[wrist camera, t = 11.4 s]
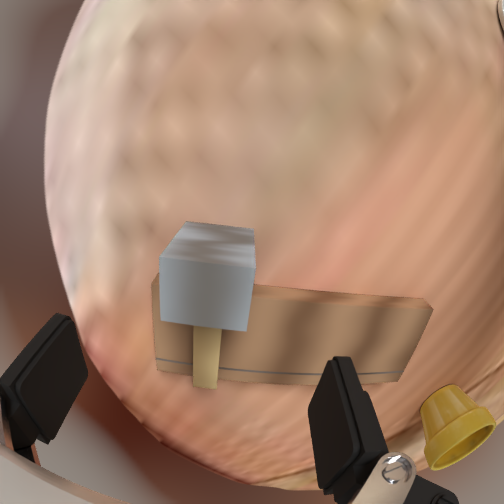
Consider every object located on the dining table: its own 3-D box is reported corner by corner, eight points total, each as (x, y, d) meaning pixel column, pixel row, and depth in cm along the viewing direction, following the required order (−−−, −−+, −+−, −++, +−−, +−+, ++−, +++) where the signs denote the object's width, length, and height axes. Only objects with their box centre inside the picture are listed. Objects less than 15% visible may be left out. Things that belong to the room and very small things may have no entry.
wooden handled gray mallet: (253, 229, 21) (255, 268, 15) (235, 362, 26) (232, 420, 19) (186, 221, 21) (159, 256, 14) (183, 355, 26) (168, 411, 19)
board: (423, 298, 24) (433, 309, 22) (391, 369, 27) (397, 381, 25) (158, 272, 22) (151, 284, 20) (162, 356, 25) (157, 370, 24)
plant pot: (403, 431, 32) (423, 479, 23) (412, 393, 29) (441, 450, 20) (458, 405, 31) (482, 447, 22) (473, 363, 28) (507, 409, 19)
